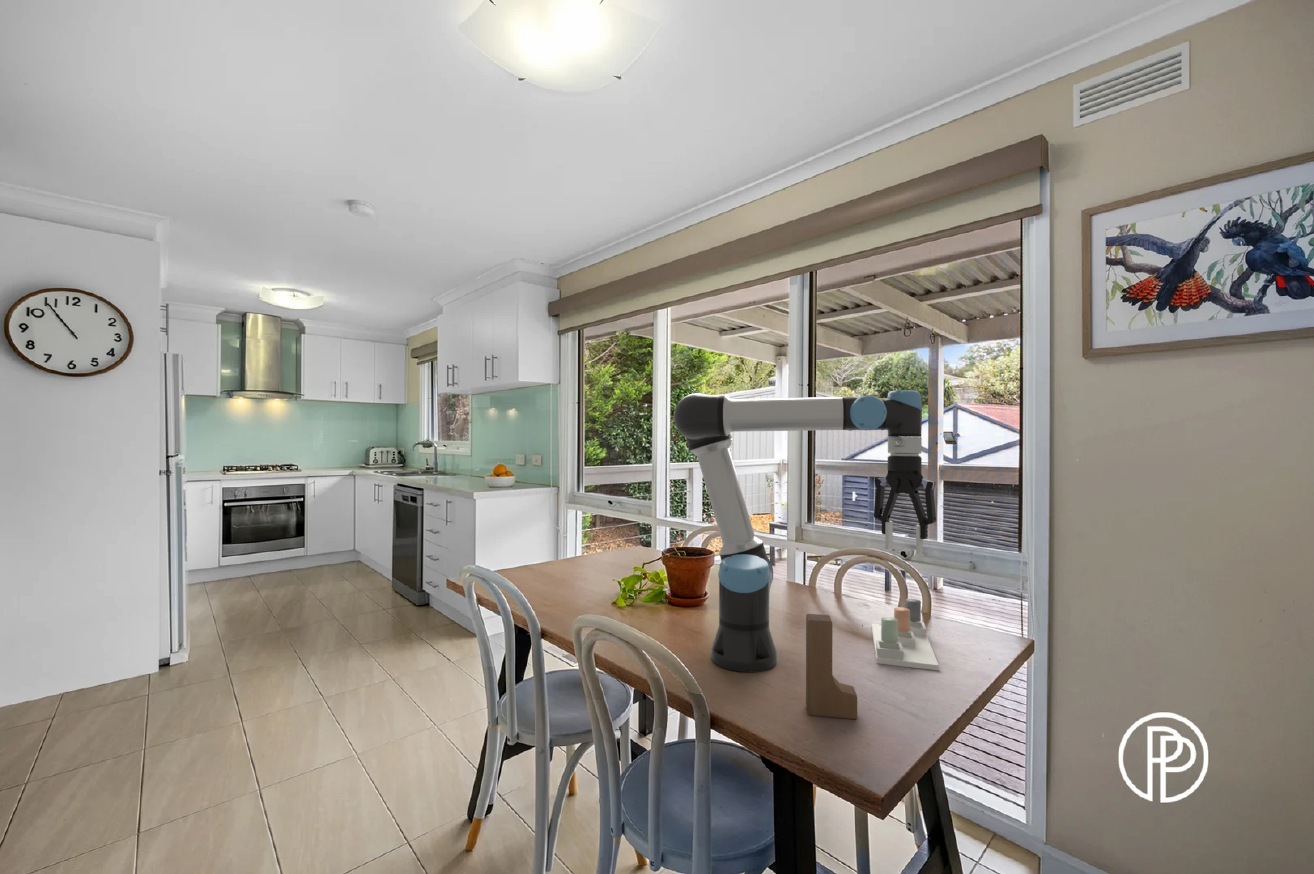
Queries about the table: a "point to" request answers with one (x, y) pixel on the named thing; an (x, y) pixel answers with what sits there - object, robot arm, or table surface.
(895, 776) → the table surface
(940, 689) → the table surface
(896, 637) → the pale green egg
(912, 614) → the charcoal plunger
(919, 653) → the button board
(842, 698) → the wooden block
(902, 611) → the terracotta plunger
